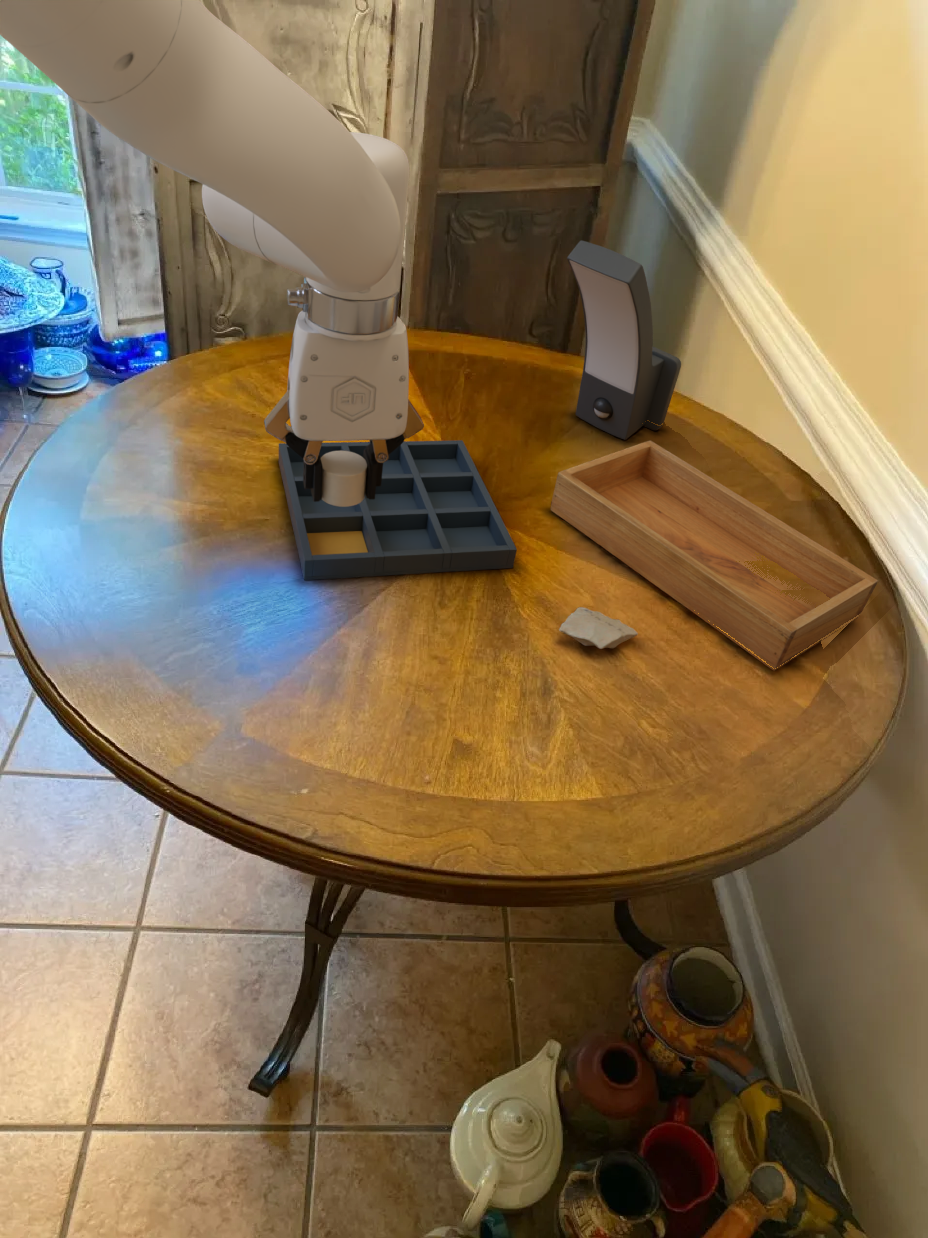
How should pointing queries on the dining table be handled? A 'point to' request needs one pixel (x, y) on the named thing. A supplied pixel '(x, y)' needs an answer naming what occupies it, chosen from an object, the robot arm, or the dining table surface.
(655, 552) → the tray
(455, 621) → the dining table surface
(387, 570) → the grid
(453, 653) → the dining table surface
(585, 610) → the stone
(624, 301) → the light fixture
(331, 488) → the cylinder
